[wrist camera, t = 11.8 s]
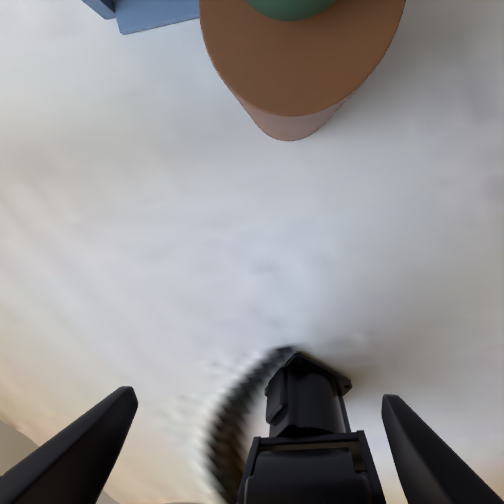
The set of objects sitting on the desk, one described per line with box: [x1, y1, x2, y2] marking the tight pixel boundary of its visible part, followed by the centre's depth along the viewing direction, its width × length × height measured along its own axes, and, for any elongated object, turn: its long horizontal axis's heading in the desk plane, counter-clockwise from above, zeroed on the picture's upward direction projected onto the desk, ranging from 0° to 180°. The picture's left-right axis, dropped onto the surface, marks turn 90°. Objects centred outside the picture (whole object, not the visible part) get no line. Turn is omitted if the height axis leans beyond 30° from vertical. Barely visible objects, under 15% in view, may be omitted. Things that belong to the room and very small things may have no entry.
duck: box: [199, 0, 406, 141], centre depth 10 cm, size 7×6×14 cm
